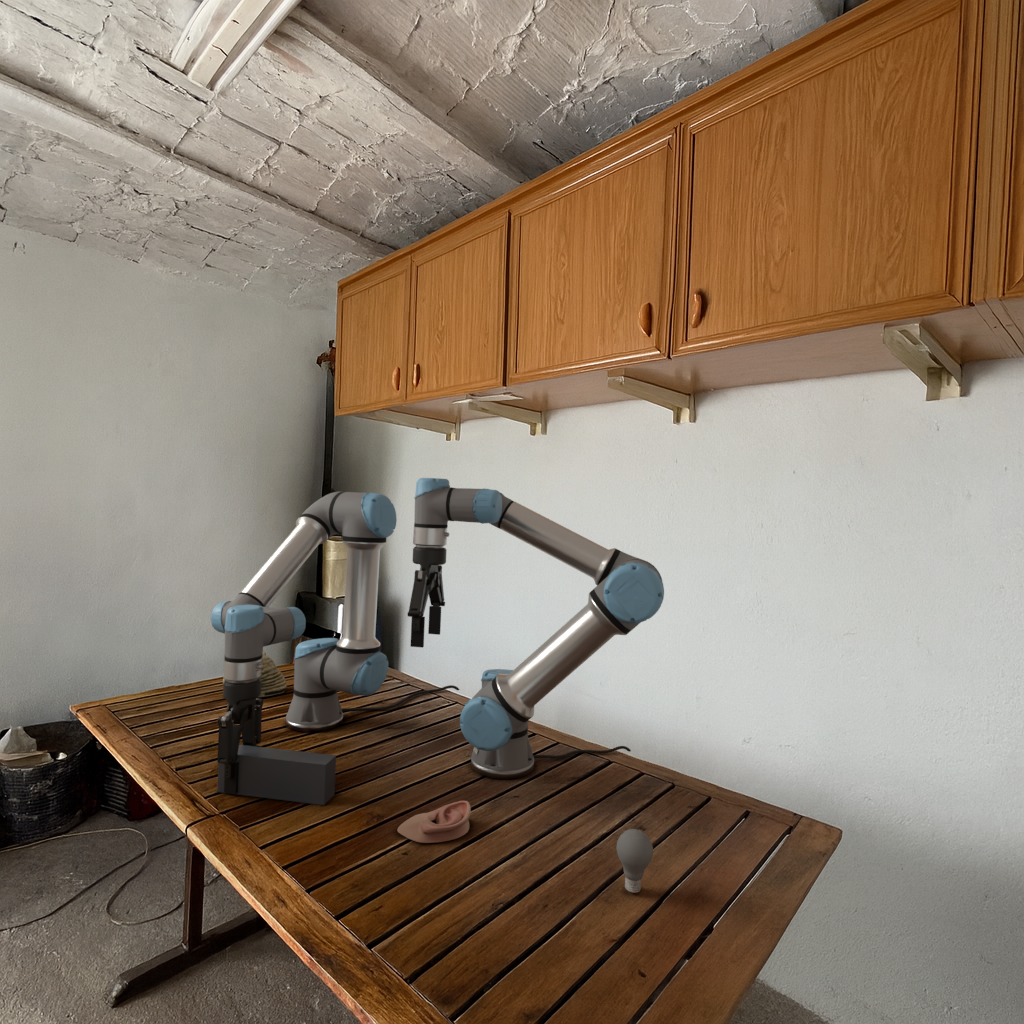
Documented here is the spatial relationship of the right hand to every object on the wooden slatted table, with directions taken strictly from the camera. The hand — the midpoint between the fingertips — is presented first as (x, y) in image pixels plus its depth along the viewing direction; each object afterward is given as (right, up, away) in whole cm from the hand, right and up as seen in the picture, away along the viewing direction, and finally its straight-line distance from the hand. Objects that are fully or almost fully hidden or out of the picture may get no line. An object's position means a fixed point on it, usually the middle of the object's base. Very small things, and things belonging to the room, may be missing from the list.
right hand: (426, 640), depth 143 cm
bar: (-31, -31, -9) cm, 44 cm away
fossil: (-61, -28, +55) cm, 87 cm away
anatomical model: (+4, -33, -21) cm, 39 cm away
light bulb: (+40, -34, -38) cm, 64 cm away
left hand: (-39, -30, -7) cm, 50 cm away
